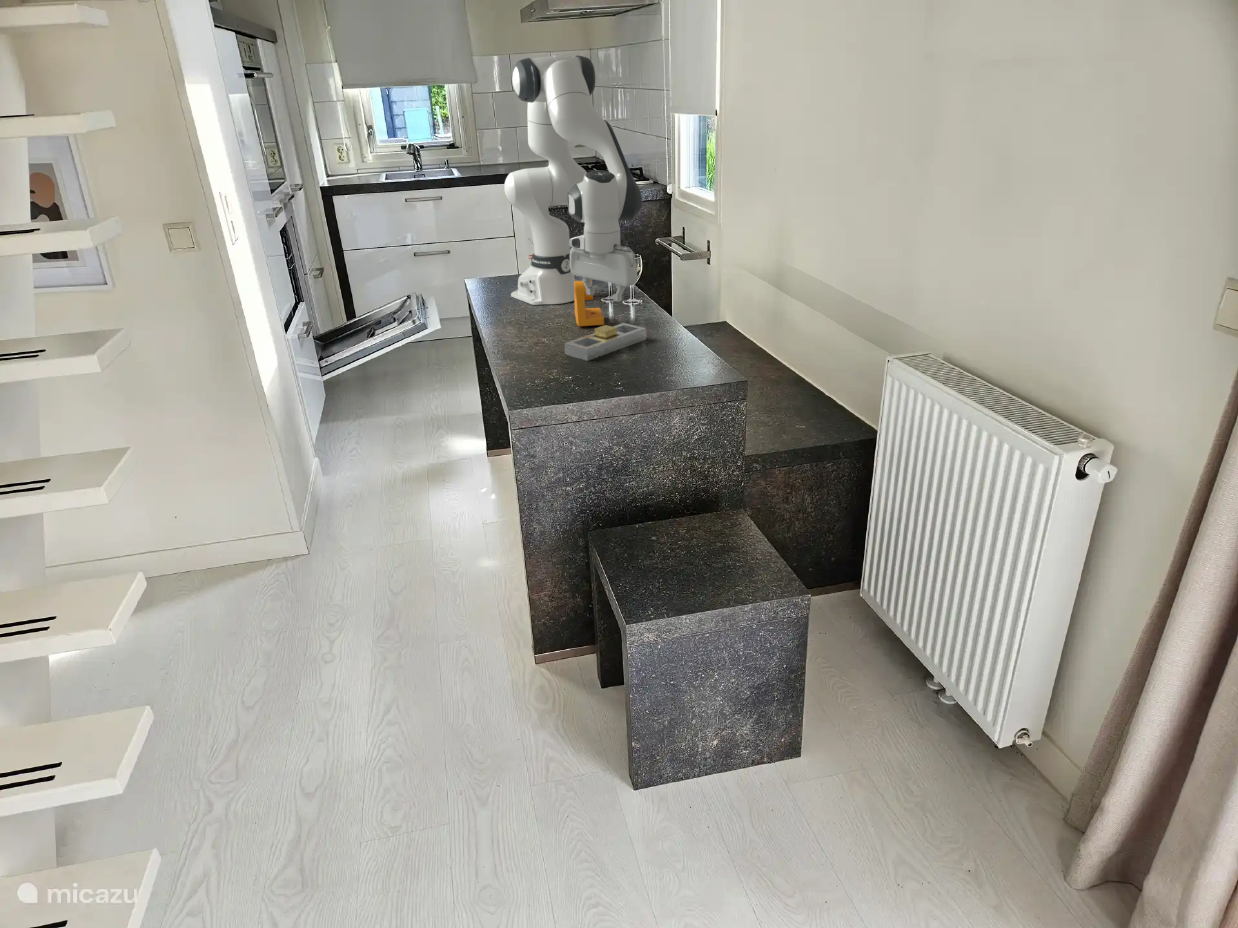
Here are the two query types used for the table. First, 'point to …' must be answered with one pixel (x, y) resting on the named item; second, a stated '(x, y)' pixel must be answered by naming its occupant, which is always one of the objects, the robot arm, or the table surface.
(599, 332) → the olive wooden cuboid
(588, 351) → the grey rectangular frame
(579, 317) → the bracket
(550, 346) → the table surface
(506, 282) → the table surface
